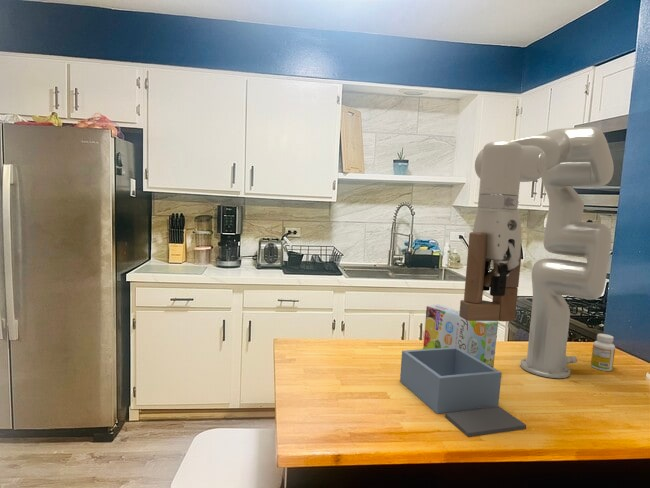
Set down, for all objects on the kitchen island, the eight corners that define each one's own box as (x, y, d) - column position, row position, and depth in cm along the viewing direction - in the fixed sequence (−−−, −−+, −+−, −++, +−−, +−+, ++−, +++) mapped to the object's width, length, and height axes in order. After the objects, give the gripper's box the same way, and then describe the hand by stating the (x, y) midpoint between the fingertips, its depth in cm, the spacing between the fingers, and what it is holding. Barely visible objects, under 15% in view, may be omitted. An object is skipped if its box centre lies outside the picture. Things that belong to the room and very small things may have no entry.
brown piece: (515, 322, 89) (523, 235, 87) (466, 321, 87) (474, 233, 86) (505, 317, 93) (513, 233, 91) (458, 316, 91) (465, 231, 89)
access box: (454, 376, 114) (456, 347, 113) (498, 406, 98) (501, 372, 97) (399, 381, 109) (402, 350, 108) (436, 413, 93) (439, 378, 92)
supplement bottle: (599, 363, 129) (603, 332, 128) (617, 370, 124) (621, 338, 123) (586, 365, 128) (590, 333, 127) (603, 372, 122) (607, 339, 121)
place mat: (499, 410, 96) (499, 406, 96) (525, 428, 89) (526, 424, 88) (444, 416, 92) (445, 413, 92) (468, 436, 84) (468, 433, 84)
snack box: (494, 375, 116) (499, 320, 115) (481, 379, 113) (486, 323, 112) (434, 350, 134) (437, 303, 132) (421, 353, 130) (425, 304, 129)
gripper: (544, 206, 81) (534, 302, 82) (486, 204, 97) (479, 284, 98) (510, 204, 78) (501, 303, 80) (457, 202, 94) (451, 285, 96)
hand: (489, 292), depth 89 cm, fingers closed on brown piece, 4 cm apart
